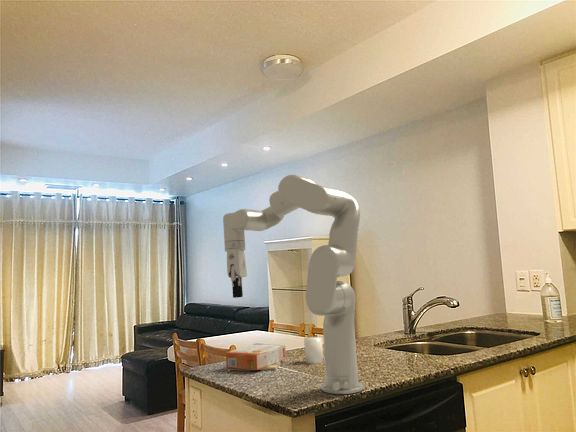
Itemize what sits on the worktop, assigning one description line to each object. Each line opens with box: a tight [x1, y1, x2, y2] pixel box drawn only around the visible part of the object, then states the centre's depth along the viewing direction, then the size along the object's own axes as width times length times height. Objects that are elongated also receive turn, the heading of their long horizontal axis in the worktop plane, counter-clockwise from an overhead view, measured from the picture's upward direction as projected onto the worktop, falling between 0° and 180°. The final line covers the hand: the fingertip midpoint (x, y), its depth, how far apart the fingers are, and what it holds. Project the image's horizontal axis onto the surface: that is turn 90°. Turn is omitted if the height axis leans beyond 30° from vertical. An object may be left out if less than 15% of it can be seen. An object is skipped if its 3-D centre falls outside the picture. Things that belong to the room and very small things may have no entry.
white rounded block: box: [303, 336, 324, 365], centre depth 170 cm, size 7×7×9 cm
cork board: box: [226, 360, 283, 371], centre depth 167 cm, size 16×18×1 cm
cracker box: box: [225, 342, 287, 370], centre depth 167 cm, size 14×6×21 cm
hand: (237, 297), depth 156 cm, fingers closed
